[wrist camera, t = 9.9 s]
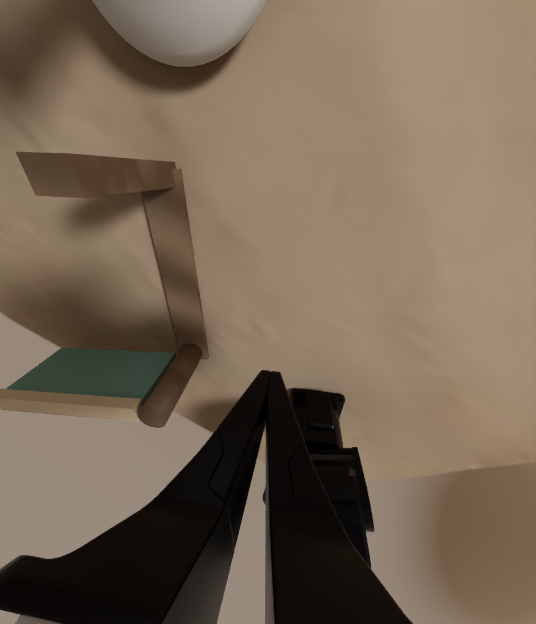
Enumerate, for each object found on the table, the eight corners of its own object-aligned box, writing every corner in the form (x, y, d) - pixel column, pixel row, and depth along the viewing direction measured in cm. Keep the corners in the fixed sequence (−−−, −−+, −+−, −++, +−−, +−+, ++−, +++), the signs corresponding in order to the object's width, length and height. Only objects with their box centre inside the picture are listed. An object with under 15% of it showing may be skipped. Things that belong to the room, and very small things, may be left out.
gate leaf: (174, 350, 25) (132, 408, 19) (178, 362, 26) (140, 421, 20) (60, 346, 27) (-12, 397, 21) (68, 357, 28) (1, 409, 22)
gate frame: (208, 357, 27) (172, 430, 19) (183, 354, 27) (137, 424, 20) (180, 162, 17) (77, 153, 9) (139, 161, 17) (7, 151, 9)
